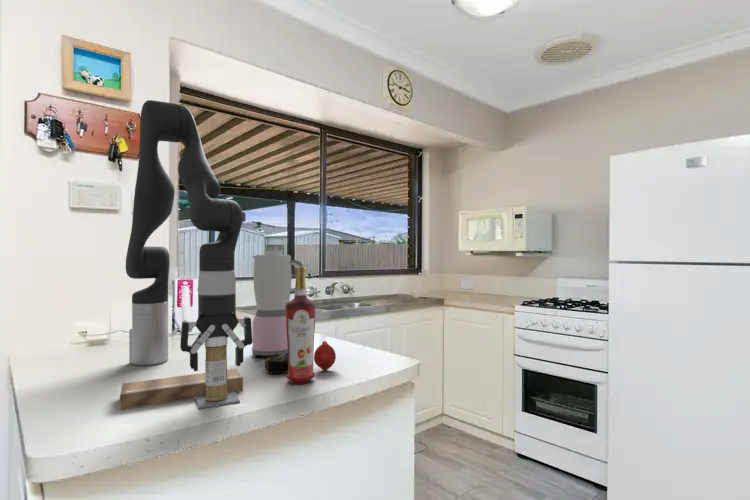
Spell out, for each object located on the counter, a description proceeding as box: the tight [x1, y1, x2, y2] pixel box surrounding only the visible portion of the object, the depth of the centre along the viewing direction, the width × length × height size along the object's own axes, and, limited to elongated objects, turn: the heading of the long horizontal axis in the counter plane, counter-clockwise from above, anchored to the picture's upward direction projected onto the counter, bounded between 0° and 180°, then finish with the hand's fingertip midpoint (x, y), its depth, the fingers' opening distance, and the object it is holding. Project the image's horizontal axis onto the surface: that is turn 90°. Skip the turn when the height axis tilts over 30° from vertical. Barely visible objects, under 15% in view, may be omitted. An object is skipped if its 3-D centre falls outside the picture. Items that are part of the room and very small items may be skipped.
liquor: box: [285, 266, 317, 385], centre depth 102 cm, size 7×7×28 cm
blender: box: [251, 250, 304, 359], centre depth 129 cm, size 16×12×32 cm
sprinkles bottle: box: [204, 336, 228, 401], centre depth 89 cm, size 5×5×14 cm
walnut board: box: [119, 368, 244, 410], centre depth 93 cm, size 24×8×3 cm, turn 118°
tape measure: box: [264, 355, 288, 374], centre depth 111 cm, size 7×7×4 cm
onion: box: [313, 340, 337, 372], centre depth 111 cm, size 6×6×8 cm
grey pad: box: [195, 391, 241, 410], centre depth 89 cm, size 8×7×1 cm
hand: (217, 367), depth 89 cm, fingers open, 8 cm apart
